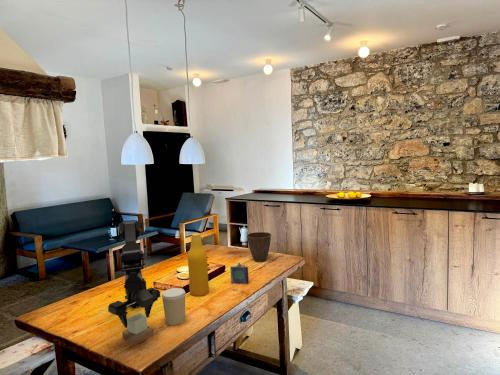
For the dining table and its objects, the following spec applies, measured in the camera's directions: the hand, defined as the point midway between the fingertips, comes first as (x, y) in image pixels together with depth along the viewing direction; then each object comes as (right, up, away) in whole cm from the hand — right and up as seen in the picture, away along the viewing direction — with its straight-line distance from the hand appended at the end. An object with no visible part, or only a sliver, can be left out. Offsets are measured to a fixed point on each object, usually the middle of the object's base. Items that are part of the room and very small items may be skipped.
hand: (137, 322), depth 128 cm
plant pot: (+48, +5, +84) cm, 97 cm away
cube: (0, -3, 0) cm, 3 cm away
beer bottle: (+18, -1, +39) cm, 43 cm away
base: (0, -6, +1) cm, 6 cm away
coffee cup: (+12, -4, +12) cm, 17 cm away
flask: (+37, +1, +49) cm, 61 cm away
